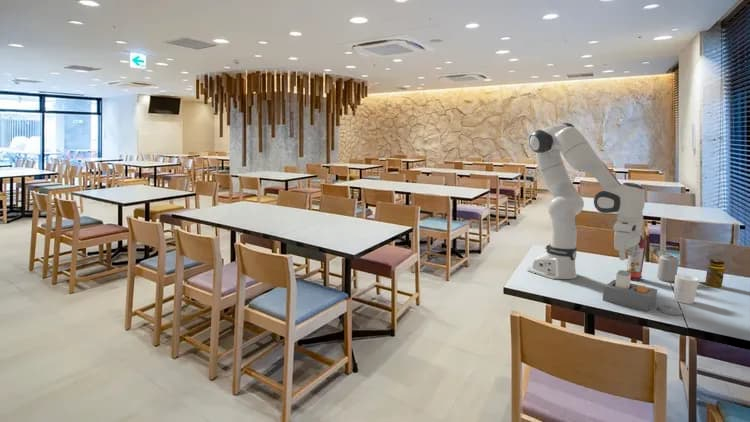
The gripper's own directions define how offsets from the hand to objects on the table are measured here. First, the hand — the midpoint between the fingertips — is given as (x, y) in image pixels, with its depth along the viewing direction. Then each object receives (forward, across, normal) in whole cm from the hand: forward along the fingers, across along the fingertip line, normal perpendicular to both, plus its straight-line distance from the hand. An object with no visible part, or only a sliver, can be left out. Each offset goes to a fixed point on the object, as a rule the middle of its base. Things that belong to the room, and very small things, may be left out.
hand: (626, 257), depth 177 cm
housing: (+18, 0, +2) cm, 18 cm away
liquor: (+18, -34, -6) cm, 39 cm away
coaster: (+18, -1, +16) cm, 25 cm away
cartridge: (+18, 0, -1) cm, 18 cm away
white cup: (+18, -18, +17) cm, 31 cm away
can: (+18, -44, +5) cm, 48 cm away
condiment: (+19, -50, +21) cm, 58 cm away
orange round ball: (+15, 0, +6) cm, 17 cm away
